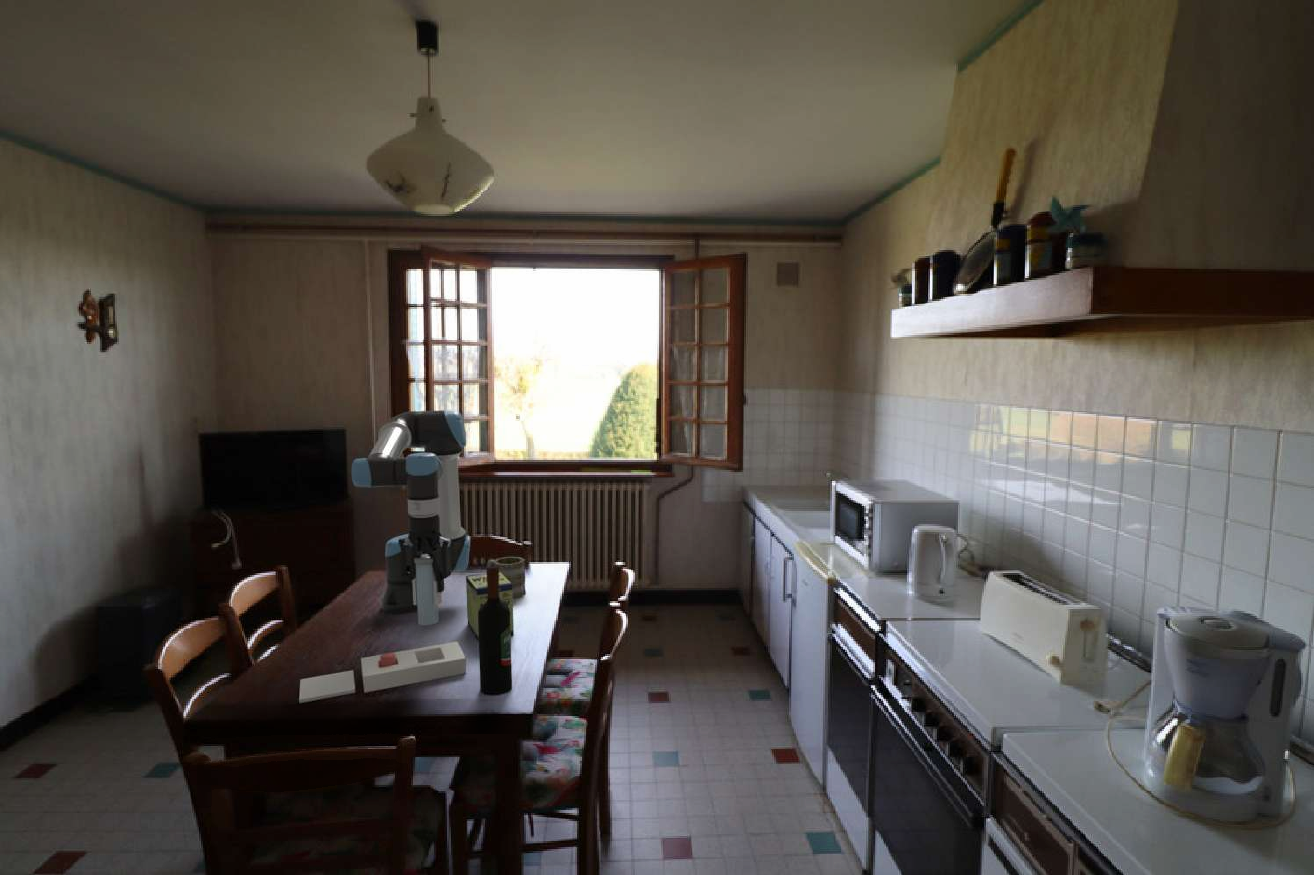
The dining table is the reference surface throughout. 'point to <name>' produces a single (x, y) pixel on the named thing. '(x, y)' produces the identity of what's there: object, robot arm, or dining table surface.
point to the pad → (326, 686)
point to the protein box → (485, 598)
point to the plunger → (388, 659)
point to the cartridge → (425, 591)
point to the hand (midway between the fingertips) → (427, 603)
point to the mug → (512, 573)
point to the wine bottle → (494, 640)
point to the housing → (413, 666)
